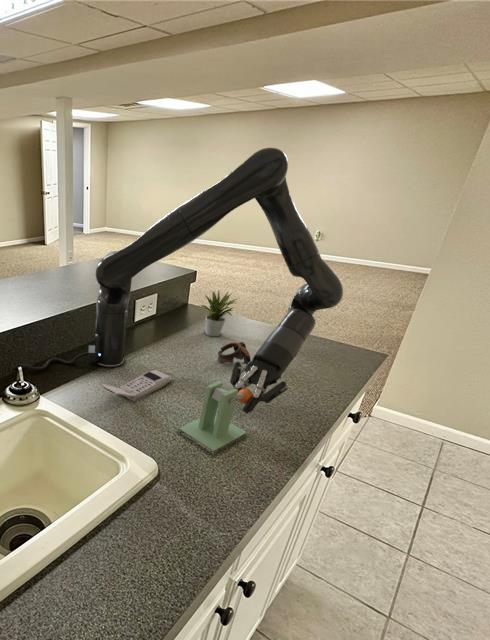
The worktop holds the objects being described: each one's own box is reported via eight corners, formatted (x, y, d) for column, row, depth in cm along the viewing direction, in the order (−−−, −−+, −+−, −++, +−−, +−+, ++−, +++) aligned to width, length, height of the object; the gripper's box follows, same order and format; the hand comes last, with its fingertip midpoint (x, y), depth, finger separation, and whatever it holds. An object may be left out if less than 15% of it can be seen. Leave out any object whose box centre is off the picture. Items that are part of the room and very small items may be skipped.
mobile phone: (100, 384, 102) (160, 356, 117) (98, 404, 105) (157, 374, 120) (117, 394, 98) (177, 364, 113) (115, 414, 101) (174, 382, 116)
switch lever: (239, 399, 99) (245, 386, 98) (251, 406, 96) (258, 392, 95) (207, 398, 90) (214, 384, 89) (221, 405, 87) (227, 390, 86)
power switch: (210, 417, 101) (220, 372, 95) (245, 437, 94) (258, 390, 88) (178, 433, 95) (186, 386, 88) (212, 455, 88) (224, 406, 81)
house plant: (226, 346, 140) (236, 300, 132) (188, 336, 146) (195, 292, 138) (237, 333, 150) (247, 290, 142) (200, 325, 157) (208, 283, 149)
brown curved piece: (250, 376, 121) (241, 354, 118) (219, 380, 128) (210, 359, 124) (258, 353, 129) (250, 332, 125) (229, 357, 135) (221, 337, 132)
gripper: (249, 332, 99) (208, 388, 98) (305, 352, 89) (260, 415, 88) (256, 347, 104) (217, 400, 104) (310, 368, 94) (267, 427, 94)
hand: (237, 407), depth 96 cm, fingers closed on switch lever, 3 cm apart
